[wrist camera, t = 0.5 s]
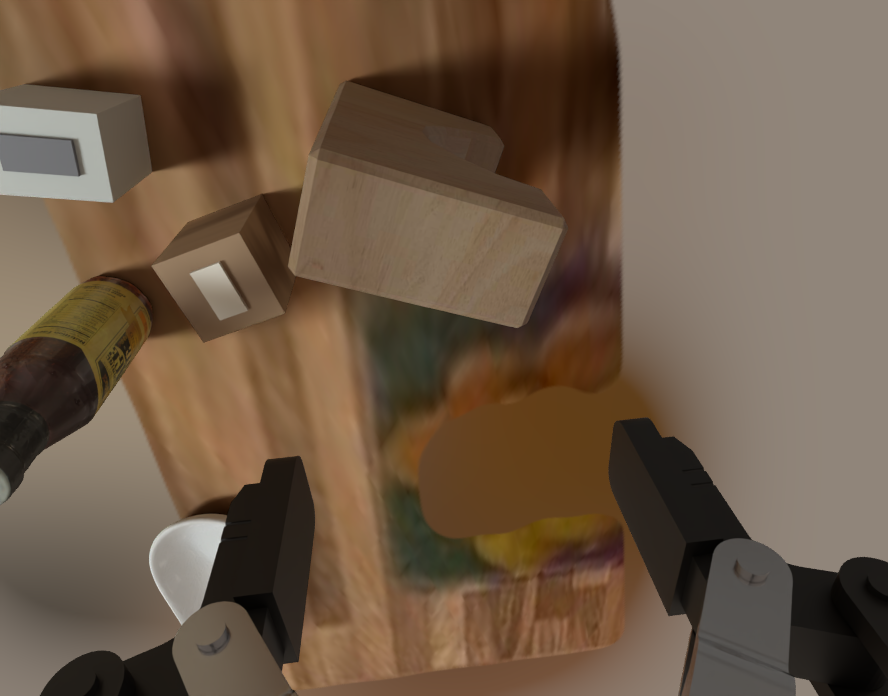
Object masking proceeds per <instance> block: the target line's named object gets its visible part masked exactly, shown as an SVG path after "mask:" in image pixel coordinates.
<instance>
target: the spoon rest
mask: <svg viewBox="0 0 888 696" xmlns="http://www.w3.org/2000/svg"><path fill="white" fill-rule="evenodd" d="M226 518H227V515H223V514H201V515H195V516H191V517H187V518H184V519H182V520H179V521H177V522H175V523H173V524H171V525H169V526H168V527H166V528H165V529H164V530H162V531H161V532H160V533H159V534H158V535H157V537H156V538H155V540H154V542H153V544H152V546H151V550H150V554H149V563H150V569H151V573H152V575H153V578H154V580H155V583H156V584H157V586H158V588H159V590H160V592H161V593H162V595H163V597H164V598H165V600H166V601H167V603H168V605H169V606H170V608H171V609H172V611H173V612H174V614H175V615H176V617H177V618H178V620H179V622H180V623H181V625H182V624H183V623H184V622H185V621H186V620H187V619H188V618H189V617H190V616H191V615H192V614H194V613H195V612H196V611H198V610H199V609H200V607H201V605H202V602H203V599H204V595H205V592H206V588H207V585H208V581H209V578H210V574H211V571H212V567H213V564H214V560H215V557H216V553H217V550H218V546H219V543H221V536H222V532H223V529H224V527H225V522H226Z"/></svg>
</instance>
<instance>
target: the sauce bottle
mask: <svg viewBox="0 0 888 696" xmlns="http://www.w3.org/2000/svg"><path fill="white" fill-rule="evenodd" d="M152 313H153V312H152V306H151V304H150V302H149V300H148V298H146V297H145V296H144V295H143V294H142V293H141V291H140V290H139V289H137V287H135V286H134V285H132V284H131V283H129V282H126V281H124V280H121V279H118V278H112V277H103V276H97V277H93V278H91V279H89V280H87V281H85V282H84V283H82V284H80V285H78V286H76V287H75V288H73V289H72V290H71V291H70V292H69V293H67V294H66V295H65V296H64V297H63V298H62V299H61V300H60V301H59V302H58V303H57V304H55V305H54V306H53V307H52V308H51V309H50V310H49V311H48V312H47V313H46V314H44V316H42V317H41V318H40V319H39V320H38V321H37V322H36V323H35V324H34V325H33V326H31V327H30V328H29V329H28V330H27V331H26V332H25V333H24V334H23V335H22V336H21V337H19V339H17V340H16V341H15V342H14V343H13V344H12V345H11V346H10V347H9V348H8V349H7V350H6V351H5V353H4V355H3V356H2V357H1V358H0V505H1V504H2V503H4V502H5V501H6V500H8V498H9V497H10V496H11V495H12V493H14V492H15V490H16V489H17V488H18V487H19V485H20V484H21V482H22V480H23V478H24V473H25V471H26V470H27V469H28V467H29V466H30V465H31V463H32V462H33V460H34V459H35V458H36V456H37V455H39V454H40V453H41V452H42V451H43V450H44V449H46V448H48V447H49V446H51V445H53V444H55V443H56V442H58V441H60V440H61V439H63V438H65V437H66V436H68V435H70V434H71V433H73V432H75V431H77V430H78V429H80V428H81V427H83V426H85V425H86V424H88V423H89V422H90V421H91V420H92V419H93V417H94V416H95V414H96V413H97V411H98V410H99V408H100V407H101V406H102V404H103V403H104V401H105V400H106V398H107V397H108V395H109V393H111V391H112V390H113V388H114V387H115V386H116V384H117V382H118V381H119V380H120V378H121V377H122V375H123V374H124V373H125V371H126V369H127V368H128V366H129V365H130V363H131V362H132V360H133V359H134V357H135V356H136V354H137V353H138V351H139V350H140V348H141V347H142V345H143V344H144V342H145V341H146V340H147V338H148V336H149V334H150V330H151V327H152V322H153V314H152Z"/></svg>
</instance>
